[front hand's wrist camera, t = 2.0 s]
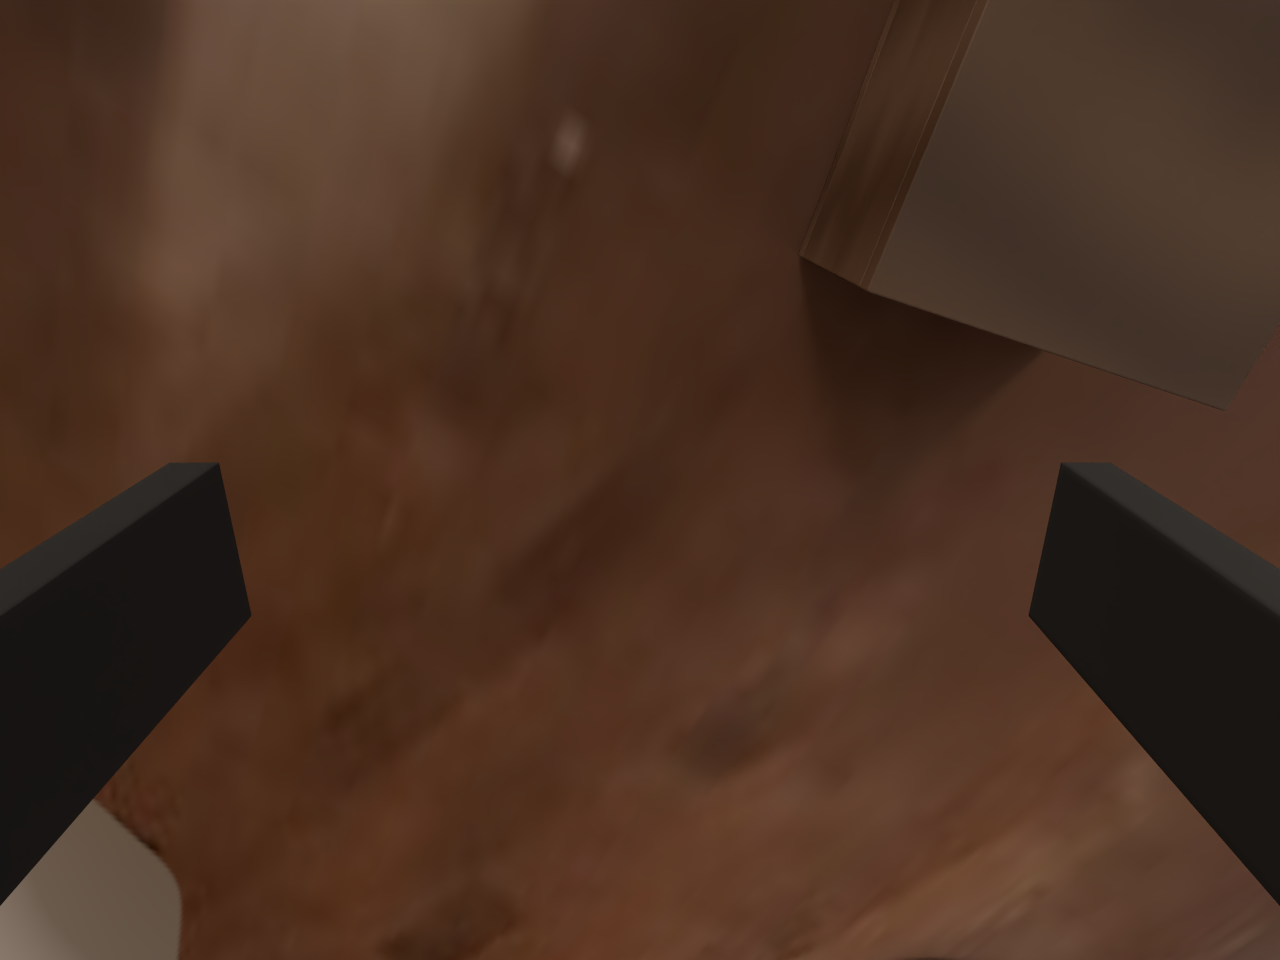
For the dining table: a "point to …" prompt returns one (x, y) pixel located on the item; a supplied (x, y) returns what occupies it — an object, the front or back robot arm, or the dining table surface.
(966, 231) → the taupe rectangular block
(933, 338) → the dining table surface
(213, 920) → the dining table surface
